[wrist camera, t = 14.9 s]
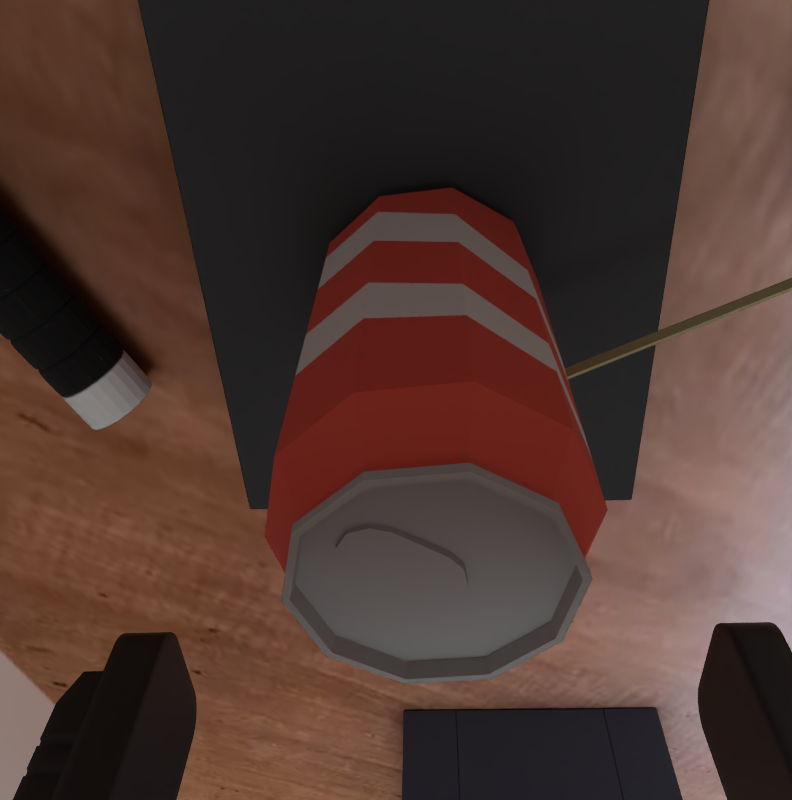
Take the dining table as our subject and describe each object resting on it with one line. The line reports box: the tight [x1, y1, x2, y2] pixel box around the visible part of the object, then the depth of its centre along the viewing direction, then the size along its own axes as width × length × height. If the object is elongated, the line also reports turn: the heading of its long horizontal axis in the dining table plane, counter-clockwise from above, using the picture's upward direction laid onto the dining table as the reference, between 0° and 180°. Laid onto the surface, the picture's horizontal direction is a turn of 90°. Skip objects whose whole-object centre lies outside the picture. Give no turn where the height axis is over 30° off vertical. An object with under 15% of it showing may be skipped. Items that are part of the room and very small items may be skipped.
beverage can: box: [265, 188, 607, 684], centre depth 18 cm, size 6×6×12 cm
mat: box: [138, 0, 709, 509], centre depth 23 cm, size 14×18×1 cm
